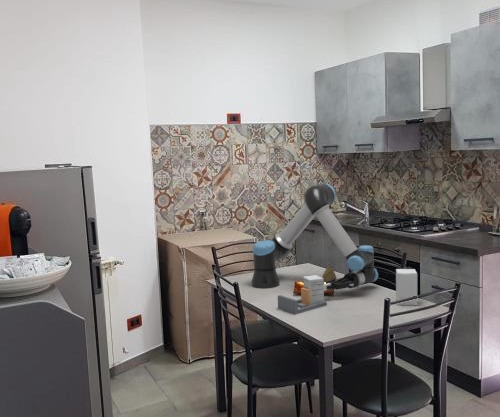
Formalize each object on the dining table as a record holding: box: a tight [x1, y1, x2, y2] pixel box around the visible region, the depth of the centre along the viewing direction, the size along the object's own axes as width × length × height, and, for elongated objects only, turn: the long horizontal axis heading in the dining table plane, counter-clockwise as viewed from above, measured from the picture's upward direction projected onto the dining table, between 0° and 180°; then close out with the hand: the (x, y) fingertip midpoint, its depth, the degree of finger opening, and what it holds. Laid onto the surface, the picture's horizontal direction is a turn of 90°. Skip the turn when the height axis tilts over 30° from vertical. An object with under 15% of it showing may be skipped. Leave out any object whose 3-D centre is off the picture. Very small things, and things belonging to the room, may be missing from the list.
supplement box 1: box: [302, 274, 325, 305], centre depth 243 cm, size 7×7×13 cm
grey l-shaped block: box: [277, 294, 328, 315], centre depth 239 cm, size 12×20×6 cm, turn 127°
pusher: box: [298, 287, 311, 308], centre depth 240 cm, size 5×5×8 cm
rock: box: [321, 265, 337, 282], centre depth 273 cm, size 11×9×10 cm
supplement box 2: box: [395, 268, 418, 306], centre depth 239 cm, size 9×9×15 cm
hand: (320, 288), depth 245 cm, fingers closed
